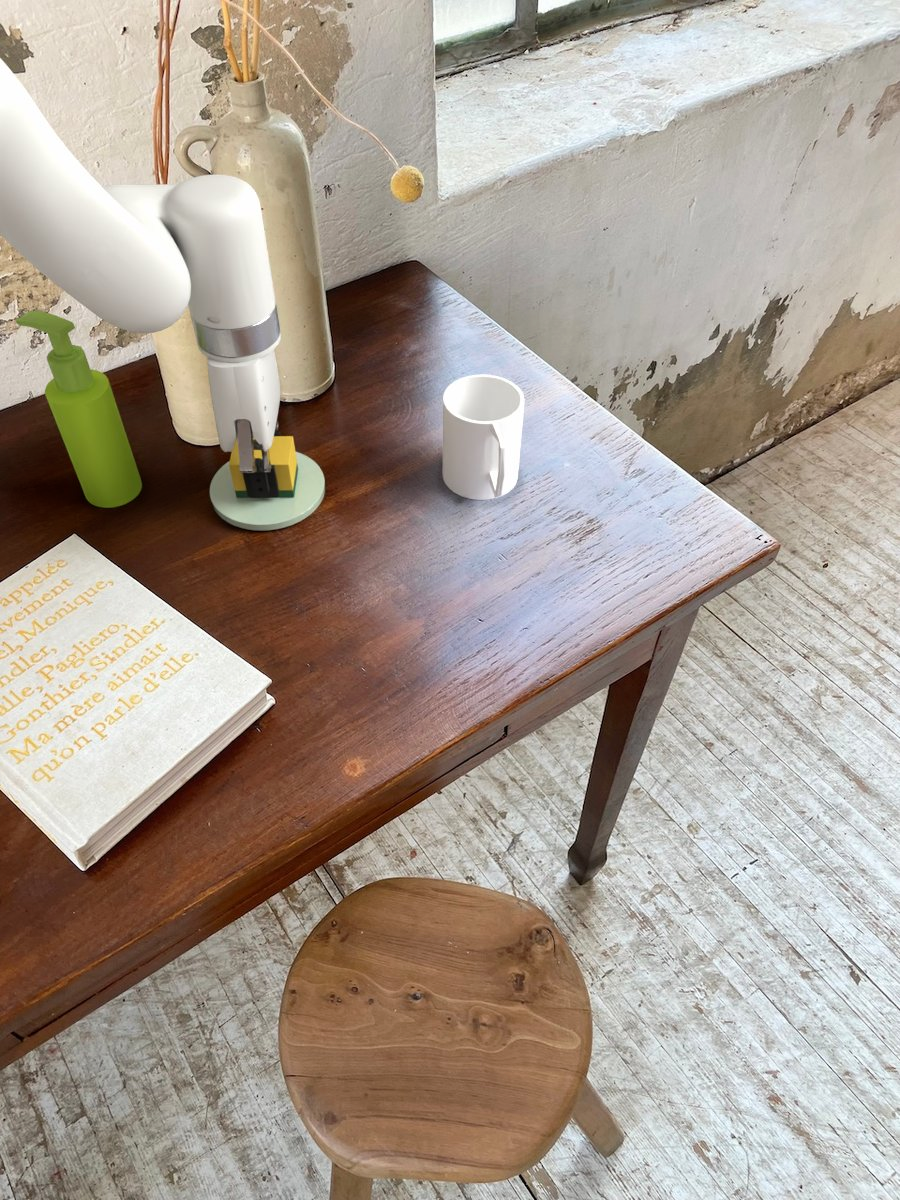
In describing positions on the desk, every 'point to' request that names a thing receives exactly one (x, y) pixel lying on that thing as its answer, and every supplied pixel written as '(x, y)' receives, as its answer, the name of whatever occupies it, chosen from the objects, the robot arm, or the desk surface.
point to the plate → (269, 499)
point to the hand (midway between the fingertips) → (266, 477)
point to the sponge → (279, 457)
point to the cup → (482, 436)
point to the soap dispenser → (87, 417)
